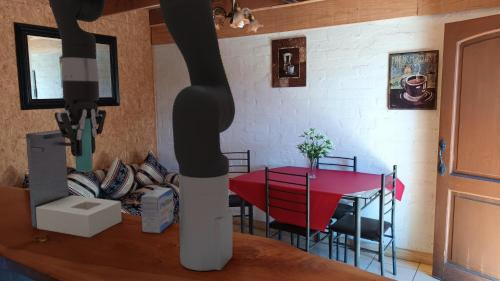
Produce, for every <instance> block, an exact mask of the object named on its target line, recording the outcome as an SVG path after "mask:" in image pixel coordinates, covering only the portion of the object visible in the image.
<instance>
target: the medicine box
mask: <svg viewBox="0 0 500 281" xmlns="http://www.w3.org/2000/svg"><path fill="white" fill-rule="evenodd" d="M173 194H174V192H173V188H171V187H156V188H154V189H152V190H150V191H149V192H147V193H145V194H144V195H142V196H141V227H142V232H143V233H151V234H161V233H162V232H164V230H166V229H167V228H168V227H169V226H170V225H171V224H172V223H174V195H173Z"/></svg>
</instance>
